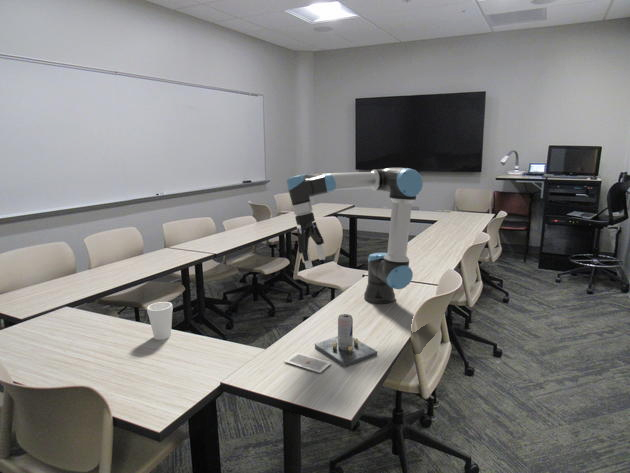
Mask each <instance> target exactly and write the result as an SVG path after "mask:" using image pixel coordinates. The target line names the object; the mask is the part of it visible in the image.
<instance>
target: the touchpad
mask: <svg viewBox="0 0 630 473" xmlns="http://www.w3.org/2000/svg"><path fill="white" fill-rule="evenodd" d="M283 362H285V363H288V364H292V365H295V366H297V367H301V368H304V369H307V370H309V371H313V372H317V373H319V374H320V373H322V372H323V371H325V370H326V369H327V368H328V366H330V365H331V364H333V362H331V361H328V360H326V359H325V360H324V359H322V358H321V359H320V358H318V357H315V356H312V355H307V354H305V353H302V352H298V351H296V352H295V353H293V354H292V355H290V356H289V357H287V358H286V359H285V360H284V361H283Z"/></svg>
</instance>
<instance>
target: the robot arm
mask: <svg viewBox="0 0 630 473" xmlns="http://www.w3.org/2000/svg"><path fill="white" fill-rule="evenodd" d="M423 182H424V181H423V178H422V176H421V174H420V172H418V171H417V170H416V169H412V168H410V167H409V168H408V167H397V166H396V167H386V168H379V169H371V171H364V172H363V171H362V172H361V171H360V172H358V171H357V172H332V173H331V172H329V173H327V172H326V173H310V172H309V173H304V174H299V175H294V176H291V177H288V178H287V179H286V184H287V190H288V193H289V197H290V200H291V206H292V210H293V212H294V213H293V214H294V215H295V217H294V218H295V221H296V225H297V226H300V227H297V244H298V246H297V247H298V250H297V251H298V253H299V254H300V255H301V254H302V258H303V262H304V266H305V269H306V270H307V269H309V270H310V269H313V268H314V266H313V264H312V258H311V253H310V251H308V250H309V243H310V241H309V240H310V238H311V239H312V240H313V242H314V243H315V250H316V253H317V257H318V261H322V260H323V261H324V260H326V255H325V252H324V248H323V244H324V243H325V241H324V237H323V236H322V234H321V232H320V230H319V228H318V225H317V222H316V219H315V214H314V212H313V207H312V202H311V198H312V197H315V196H319V195H323V194H328V193H331V192H334V191H343V190H365V189H366V190H368V189H371V190H372V191H382V192H388V193H389V199H390V201H391V211H390V212H391V213H390V221H389V222H390V224H389V234H388V243H387V252H373V253H371V254H369V255H368V259H367V260H368V261H367V262H368V263H367V284H366V288H365V291H364V294H363V295H364V296H363V298H364V300H365V301H366V302H368V303H372V304H377V305H378V304H381V305H382V304H390V303H393V302H394V301H395V299H396V293H395V291H394V289H395V290H403V289H404V288H406V287H407V286H409V285H410V284H411V282H412V279H413V276H414V275H413V270H412V269H411V267H410V258H409V257H408V256H407V253H408V243H409V235H410V225H411V217H412V216H411V214H412V205H413V203H414V202H415V201H416V199H417V195H419V194H420V192H421V191H422V188H423Z"/></svg>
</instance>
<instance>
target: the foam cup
mask: <svg viewBox="0 0 630 473" xmlns="http://www.w3.org/2000/svg"><path fill="white" fill-rule="evenodd" d="M173 309H174V307H173V304H172V302H170V301H169V302H168V301H159V302H154V303H151V304H149V305H148V306H147V308H146V310H147V312H146V313H147V315H148V319H149V322H150V326H151V327H150V328H151V331H152V335H153V338H154V339H155V340H158V341H163V340H167V339H169V338H170V337H172V325H173V324H172V322H173Z"/></svg>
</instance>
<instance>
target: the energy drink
mask: <svg viewBox="0 0 630 473" xmlns="http://www.w3.org/2000/svg"><path fill="white" fill-rule="evenodd" d="M353 320H354V318H353V316H352V315H351V314H347V313H343V314H339V315H338V317H337V336H338V347H339V348H340V349H341V350H348V346H349V345H351V346H352V347H353V338H354V336H353V334H354V333H353V332H354V331H353V326H354V325H353V324H354V323H353V322H354V321H353Z"/></svg>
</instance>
